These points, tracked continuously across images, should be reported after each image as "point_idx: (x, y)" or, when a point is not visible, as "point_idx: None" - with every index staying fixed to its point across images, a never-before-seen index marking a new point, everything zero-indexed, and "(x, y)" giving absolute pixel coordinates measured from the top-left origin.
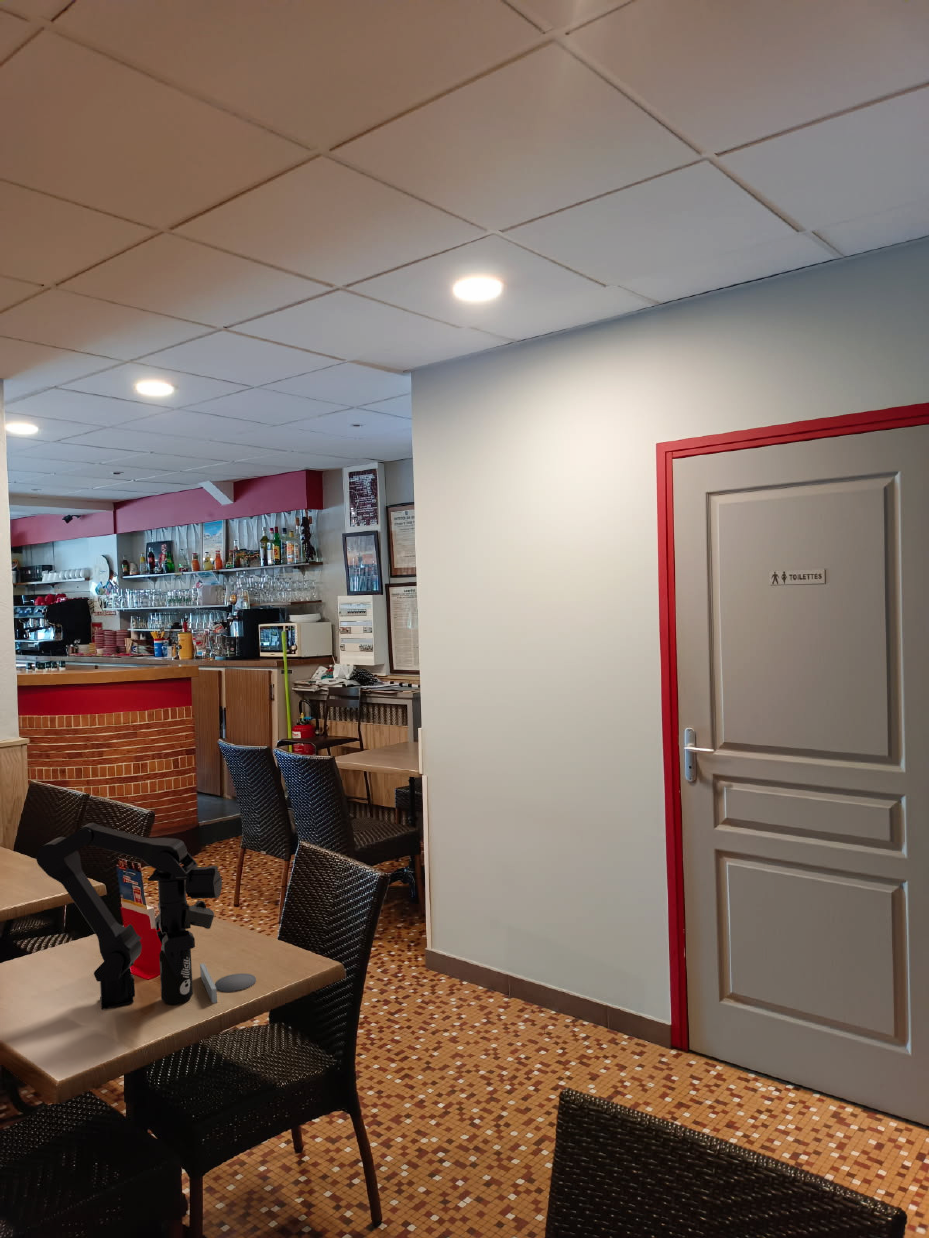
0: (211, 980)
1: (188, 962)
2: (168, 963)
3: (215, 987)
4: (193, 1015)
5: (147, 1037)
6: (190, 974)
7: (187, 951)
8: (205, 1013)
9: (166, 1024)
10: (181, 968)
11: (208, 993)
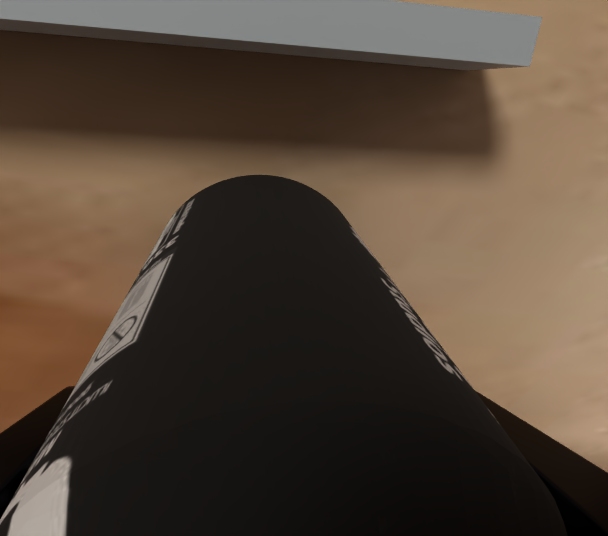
0: (324, 6)
1: (441, 348)
2: None
3: (512, 19)
4: (540, 220)
5: (585, 423)
6: (362, 250)
7: (531, 506)
8: (570, 151)
9: (531, 351)
10: (522, 424)
11: (302, 55)
